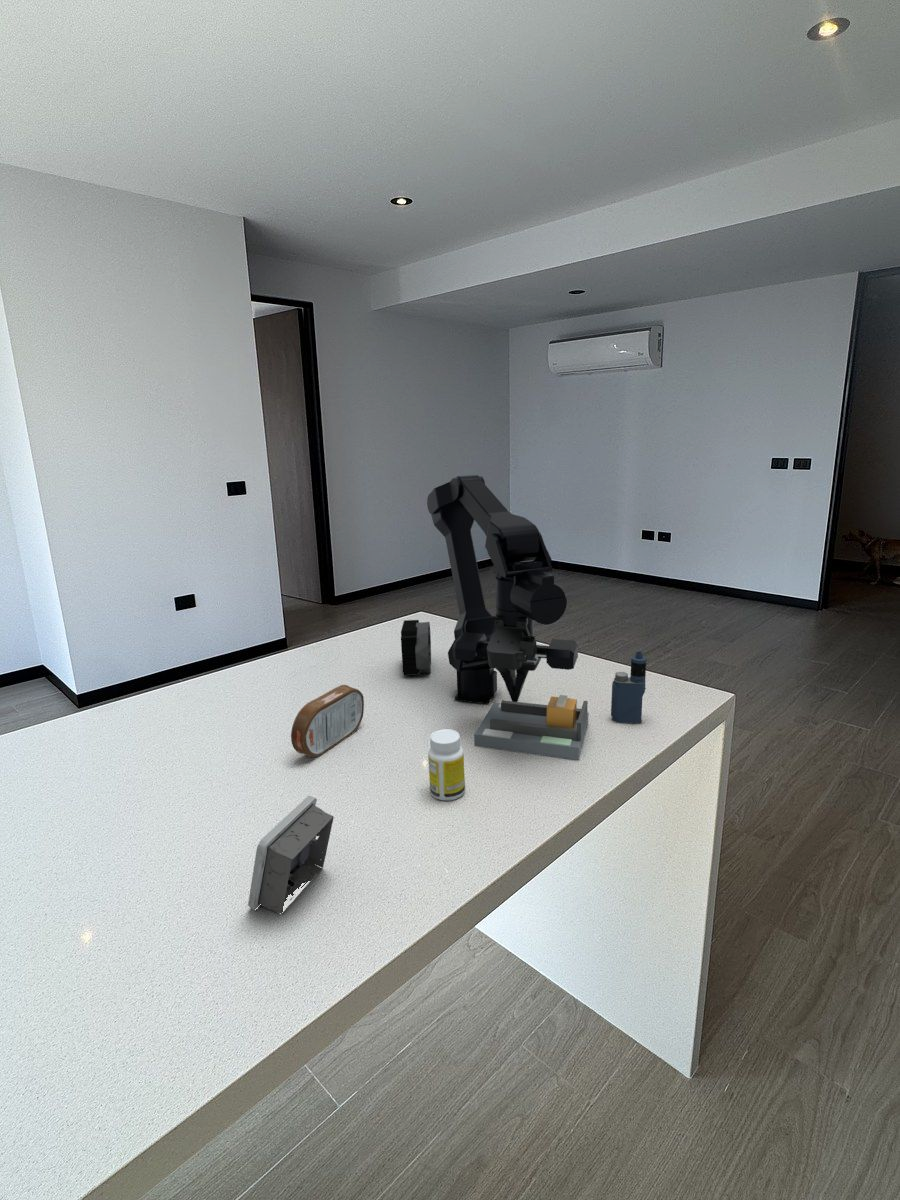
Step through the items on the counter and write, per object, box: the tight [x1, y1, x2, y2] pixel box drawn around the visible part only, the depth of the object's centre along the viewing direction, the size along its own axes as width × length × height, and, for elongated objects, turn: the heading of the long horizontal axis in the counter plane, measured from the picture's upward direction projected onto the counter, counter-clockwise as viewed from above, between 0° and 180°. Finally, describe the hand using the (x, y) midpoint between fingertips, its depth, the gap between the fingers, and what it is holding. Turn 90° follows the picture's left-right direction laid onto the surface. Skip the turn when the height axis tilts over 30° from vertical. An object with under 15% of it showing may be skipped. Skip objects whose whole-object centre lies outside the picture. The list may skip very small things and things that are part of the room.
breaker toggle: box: [547, 694, 578, 728], centre depth 98 cm, size 4×4×5 cm
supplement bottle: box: [427, 728, 466, 801], centre depth 85 cm, size 5×5×8 cm
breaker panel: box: [473, 699, 590, 761], centre depth 100 cm, size 16×12×5 cm
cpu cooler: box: [400, 619, 432, 676], centre depth 127 cm, size 10×6×10 cm, turn 179°
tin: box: [290, 684, 365, 758], centre depth 99 cm, size 15×3×8 cm, turn 150°
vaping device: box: [610, 650, 647, 724], centre depth 103 cm, size 3×5×12 cm, turn 79°
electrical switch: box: [247, 795, 335, 915], centre depth 67 cm, size 9×5×9 cm, turn 158°
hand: (515, 700), depth 100 cm, fingers closed
